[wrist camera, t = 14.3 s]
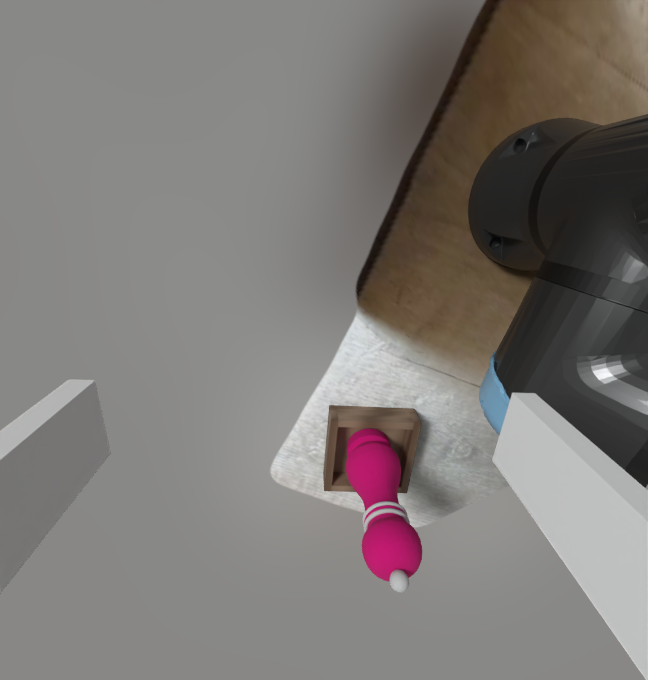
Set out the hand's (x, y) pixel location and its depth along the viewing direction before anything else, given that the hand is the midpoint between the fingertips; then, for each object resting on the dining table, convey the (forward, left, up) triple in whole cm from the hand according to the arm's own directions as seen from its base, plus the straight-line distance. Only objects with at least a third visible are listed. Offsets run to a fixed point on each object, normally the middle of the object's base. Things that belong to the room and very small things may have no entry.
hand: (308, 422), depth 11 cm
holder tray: (-10, +26, -32) cm, 42 cm away
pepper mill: (-10, +26, -31) cm, 41 cm away
